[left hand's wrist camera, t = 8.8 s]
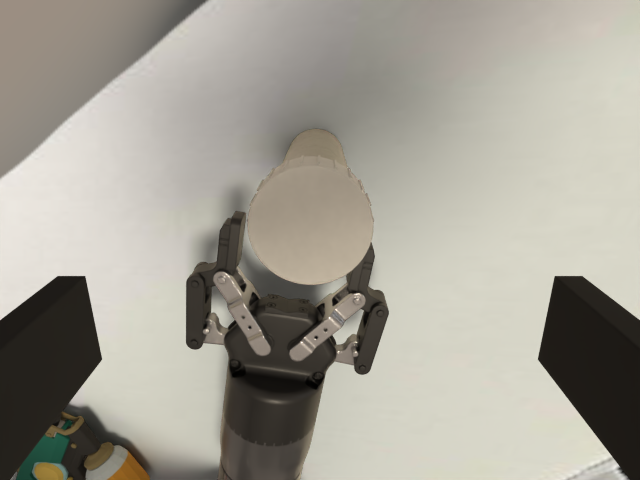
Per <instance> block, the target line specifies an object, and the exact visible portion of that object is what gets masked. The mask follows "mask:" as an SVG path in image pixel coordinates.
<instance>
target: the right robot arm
mask: <svg viewBox="0 0 640 480" xmlns="http://www.w3.org/2000/svg"><path fill="white" fill-rule="evenodd" d="M245 220H246V213H244V212H238V211H236V212H235V213H234V215H233V216H232V219H231V218H228V219H227V220H226V222H225V223H224V225H223V226H222V228H221V230H220V235H219V245H218V256H217V262H214V263H209V264H208V263H206V262H200V263H198V264H197V266H196V267H195V269H194V271H193V273H192V274H191V275H190V276H189V278H188V279H187V282H186V344H187V346H188V347H189V348H191V349H199V348H201V347H202V345H203V343H210V344H220V345H225V348H226V350H227V352H228V355H229V362H228V370H227V379H226V387H225V396H224V404H223V413H222V421H221V431H220V444H221V457H220V465H219V473H218V480H300V477H301V473H302V468H303V464H304V461H305V458H306V456H307V453H308V451H309V448H310V444H311V440H312V435H313V431H314V426H315V421H316V416H317V412H318V407H319V402H320V398H321V393H322V388H323V384H324V379H325V374H326V371H327V369H328V368H329V367H330V365H331V364H332V363H333V362H334V361H335V362H340V363H345V364H350V365H354V369H355V371H356V372H357V373H358V374H361V375H363V374H367V373H368V372H369V371H370V369H371V366H372V363H373V360H374V357H375V354H376V351H377V348H378V345H379V342H380V339H381V336H382V333H383V330H384V327H385V324H386V320H387V317H388V314H389V311H388V307H387V304H386V300H385V296H384V294H383V292H382V291H380V290H373V289H371V288H370V287H368V284H369V279H370V275H371V271H372V266H373V262H374V258H375V255H374V250H373V246H372V243H370V246H369V248H368V250H367V253H366V254H365V256H364V257H363V259H362V260H361V261H360V263H359V264H358V265H357V266H356V267H355V268H354V269H353V270H352V271H350V272H349V273H348V274H347V276H346V277H347V283H346V284H344V285H343V286H342V287H341V288H340V289H338V290H337V291H336V292H335V293H333V294H332V293H331V294H329V295H327V296H326V297H325V298H324V299H322V300H321V301H320V302H319V303H318V304H316V305H315V306H314V305H312V304H310V303H309V300H305V299H286V298H284V297H281V296H279V295H273V294H268V297H263V298H261V297H260V295H259V293H258V292H257V290H256V289H255V287H254V285H253V284H252V282H251V281H248V280H247V279H246V277H245V276H244V274H243V273H242V271H241V270H240V268H239V266H238V264H239V262H240V260H241V254H242V246H243V237H244V229H245ZM212 286H217V288H218V289H219V291H220V292H221V294H222V295H223V297H224V298H225V300H226V302H227V305H228V309H229V312H230V313H231V315H232V316H233V318H234V319H235V321H233V322H232V323H231V324H230V325H229V327H228V328H225V327H223V326H222V325H221V324H220V322H219V318H218V316H217V315H216V314H215V313H211V292H212ZM360 308H361V309H363V310H364V312H363V316H362V319H361V322H360V325H359V329H358V332H357V335H355V334H352V335H351V336H350V337H348V338H347V340H346V342H345V343H344V344H341V345H336V341H335V339H334V337H333V336H332V335H333V334H334V333H335V332H336V331H338V330H339V329H340V328H341V327H342V326H343V324H344V322H345V321H346V320H347V319H348V318H349V317H350V316H352V315H353V314H354V313H355V312H357V311H358V310H359V309H360Z"/></svg>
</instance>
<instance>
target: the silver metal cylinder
mask: <svg viewBox="0 0 640 480" xmlns="http://www.w3.org/2000/svg"><path fill="white" fill-rule="evenodd" d="M302 155H304V157H305V156H316V157H318V155H320V156H321V157H323V158H327V159H330V160H333V161H334V159H335V160H336V161H337V162H338V163H339V164H341V165H343V166H344V167H346V168H347V169H348V167H347V164H346V160H345V157H344V153H343V149H342V146H341V144H340V142H339V141H338V139H337V138H336V137H335V136H334V135H333V134H331V133H329V132H328V131H325V130H322V129H309V130H306V131H304V132H302V133H300V134H299V135H298V136H297V137H296V138H295V139H294V140H293V142H292V143H291V145H290V147H289V150H288V152H287V154H286V156H285V158H284V161H283V163H285V161H286V160H288V161H289V160H292V159H295V158H299V157H301V156H302ZM283 163H282V164H283Z"/></svg>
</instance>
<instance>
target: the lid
mask: <svg viewBox="0 0 640 480" xmlns="http://www.w3.org/2000/svg"><path fill="white" fill-rule="evenodd" d="M257 191H258V192H257V194H255V196H254V198H253V199H252V201H251V203H250V206H251V207H250V210H249V215H248V220H247V222H248V234H249V239H250V242H251V245H252V248H253V250H254V252H255V253H256V255H257V257H258V258H259V259H260V261H261V262H262V263H263V264H264V265H265V266H266V267H267V268H268V269H269V270H270V271H271V272H273V273H274V274H276V275H277V276H279V277H281V278H283V279H285V280H288V281H291V282H294V283H298V284H306V285H317V284H324V283H328V282H332V281H334V280H337V279H339V278H341V277H343V276H344V275H346V274H348V273H349V272H350V271H352V270H353V269H354V268H355V267H356V266H357V265H358V264H359V263H360V261H361V260H362V259H363V257H364V256H365V254H366V253H367V250H368V248H369V246H370V243H371V240H372V234H373V222H374V218H373V216H372V212H371V208H370V206H371V202H370V200H369V197H368V195H367V193H366V194H365V192H364V188H363V185H362V183H361V180H360V179H359V180H358V179H357V178H356V177H355V175H354V174H353V173H352V172H351V170H350V168H348V169H347V168H346V167H344V166H343V165H341V164H339V163H338V162H337V161H336V160H335V159H334V161H333V160H330V159H327V158H323V157H321V156H320V155H318V157H316V156H305V157H304V155H302V156H301V157H299V158H295V159H292V160H289V161H288V160H286V161H285V163H283V164H281V165H280V166H278V167H277V168H276V169H274V168H273V169H272V170H271V172H270V174H269V175H268V176H267V177H266V179H265V180H262V181H261V183H260V185H259V187H258V188H257Z"/></svg>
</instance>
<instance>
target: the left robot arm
mask: <svg viewBox="0 0 640 480" xmlns="http://www.w3.org/2000/svg"><path fill="white" fill-rule="evenodd" d="M101 360H102V357H101V352H100V347H99V342H98V337H97V332H96V327H95V322H94V317H93V312H92V307H91V302H90V298H89V293H88V288H87V283H86V278H85V276H57V277H56V278H55V279H53V280H52V281H51V282H50V283H48V284H47V285H46V286H44V287H43V288H42V289H40V290H39V291H38V292H37V293H35V294H34V295H33V296H31V297H30V298H29V299H27V300H26V301H25V302H23V303H22V304H21V305H20V306H18V307H17V308H16V309H14V310H13V311H12V312H10V313H9V314H8V315H7V316H5V317H4V318H3V319H1V320H0V480H10V479H11V478H12V476H13V475H14V474H15V472H16V471H17V470H18V468H19V467H20V466H21V465H22V463H23V462H24V461H25V459H26V458H27V457H28V455H29V454H30V453H31V451H32V450H33V449H34V448H35V446H36V445H37V444H38V442H39V441H40V440H41V438H42V437H43V436H44V435H45V433H46V432H47V431H48V429H49V428H50V427H51V425H52V424H53V423H54V421H55V420H56V419H57V418H58V416H59V415H60V414H61V412H62V411H63V410H64V408H65V407H66V406H67V405H68V403H69V402H70V401H71V399H72V398H73V397H74V395H75V394H76V393H77V391H78V390H79V389H80V388H81V386H82V385H83V384H84V382H85V381H86V380H87V378H88V377H89V376H90V374H91V373H92V372H93V371H94V369H95V368H96V367H97V365H98V364H99V363H100V361H101ZM538 360H539V361H540V363H541V364H542V365H543V367H544V368H545V369H546V371H547V372H548V373H549V374H550V376H551V377H552V378H553V380H554V381H555V382H556V384H557V385H558V386H559V388H560V389H561V390H562V391H563V393H564V394H565V395H566V397H567V398H568V399H569V401H570V402H571V403H572V405H573V406H574V407H575V408H576V410H577V411H578V412H579V414H580V415H581V416H582V418H583V419H584V420H585V421H586V423H587V424H588V425H589V427H590V428H591V429H592V431H593V432H594V433H595V435H596V436H597V437H598V438H599V440H600V441H601V442H602V444H603V445H604V446H605V448H606V449H607V450H608V451H609V453H610V454H611V455H612V457H613V458H614V459H615V461H616V462H617V463H618V465H619V466H620V467H621V468H622V470H623V471H624V472H625V474H626V475H627V476H628V478H629V479H630V480H640V320H639V319H637V318H636V317H635V316H633V315H632V314H631V313H630V312H628V311H627V310H626V309H624V308H623V307H622V306H620V305H619V304H618V303H617V302H615V301H614V300H613V299H611V298H610V297H609V296H607V295H606V294H605V293H603V292H602V291H601V290H600V289H598V288H597V287H596V286H594V285H593V284H592V283H590V282H589V281H588V280H587V279H585V278H584V277H583V276H555V278H554V283H553V288H552V293H551V298H550V302H549V307H548V312H547V317H546V322H545V327H544V332H543V337H542V342H541V347H540V352H539V357H538Z"/></svg>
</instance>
